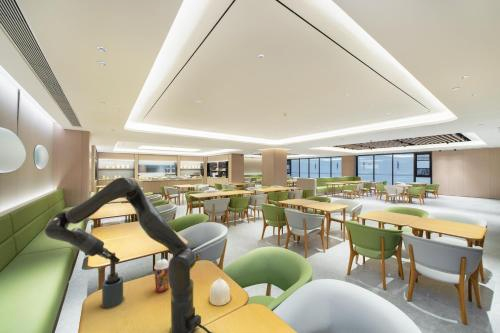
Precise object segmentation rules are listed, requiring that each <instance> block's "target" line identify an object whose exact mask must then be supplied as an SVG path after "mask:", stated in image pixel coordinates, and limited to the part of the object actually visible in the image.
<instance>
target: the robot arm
mask: <svg viewBox="0 0 500 333" xmlns="http://www.w3.org/2000/svg"><path fill="white" fill-rule="evenodd" d="M119 199H125V200H126V201H127V202H128V203H129V204H130V205H131V206H132V208H133V209H134V211H135V214H136V218H137V221H138V224H139V226H140V227H141V229H142V230H143V231H144V233H145V234H146V235H147V236H148V237H149V238H150V239H151V240H153V241H155V242H157V243H159V244H160V245H162V246H164V247H166V249H167V250H168V251H169V252H170V253H171V255H172V256H171V258H170V260H169V261H168V262H169V267H168V273H169V288H170V333H193V332H194V331H195V330H196V329H197V327H198V328H201V329H202V330H203V331H205V332H206V333H213V332H212V331H210V330H209V329H208V328H207V327H206V326H204V325H202V316H201V315H199V314H196V307H195V306H194V287H195V286H194V280H193V279H192V278H191V270H192V269H193V267H194V266H195V265H196V263H197V257H196V254H195V252H194V251H193V249H192V248H190V246H189V245H188V244H186V242H184V240H182V238H181V237H180V236H179V235H178V234H177V233H176V231H175V230H174V229H173V227H172V226H171V225H170V224H169V222H168V221H167V220H166V219H165V218H164V216H163V215H162V214H161V212H160V211H159V210H158V209H157V207H155V205H154V204H153V202H152V201H151V200H150V199H149V198H148V197H147V195H146V194H145V192H144V191H143V189H142V187H141V185H140V184H139V183H138V181H137V180H136V179H134V178H131V177H126V176H119V177H116V178H115V179H113V180H112V181H110V182H109V183H108V184H107V185H105V186H104V187H103V188H101V189H99V191H97V192H96V193H95V194H93V195H92V196H90V197H88V198H87V199H85V200H84V201H82V202H80V203H78V204H76V205H74V206H73V207H71V208H70V209H66V210H63V211H61V212H58V213H56V214H54V215H53V216H52V217H51V218H50V219H49V220H48V222H47V224H46V226H45V227H44V230H43V232H44V235H45V236H46V237H48V238H49V239H51V240H56V241H58V242H59V241H60V242H63V243H64V242H65V243H67V244H69V245H71V246H73V247H75V248H76V249H77V250H79V251H81V252H82V253H84V254H86V255H88V256H89V257H94V256H98V257H100V258H103V259H105V260H109V261H110V260H111V261H113V262H115V264H118V263H119V262H120V261H121V259H120V258H119V257H117V256H116V254H115V255H113V254H112V253H113V252H112V251H110V250H109V249H108V248H106V247H105V242H104V241H103V240H101V239H99V238H98V237H97V236H95V235H93V234H91V233H89V232H87V231H86V230H84V229H82V228H80V227H74V228H72V229H69V226H70V224H73V225H77V224H79V223H81V222H83V221H85V220H87V219H89V218H90V217H92V216H94V215H95V214H96V213H98V212H99V210H100V209H101V208H102V207H104V206H105V205H107V204H109V203H110V202H111V203H112V202H113V201H115V200H119Z"/></svg>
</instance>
